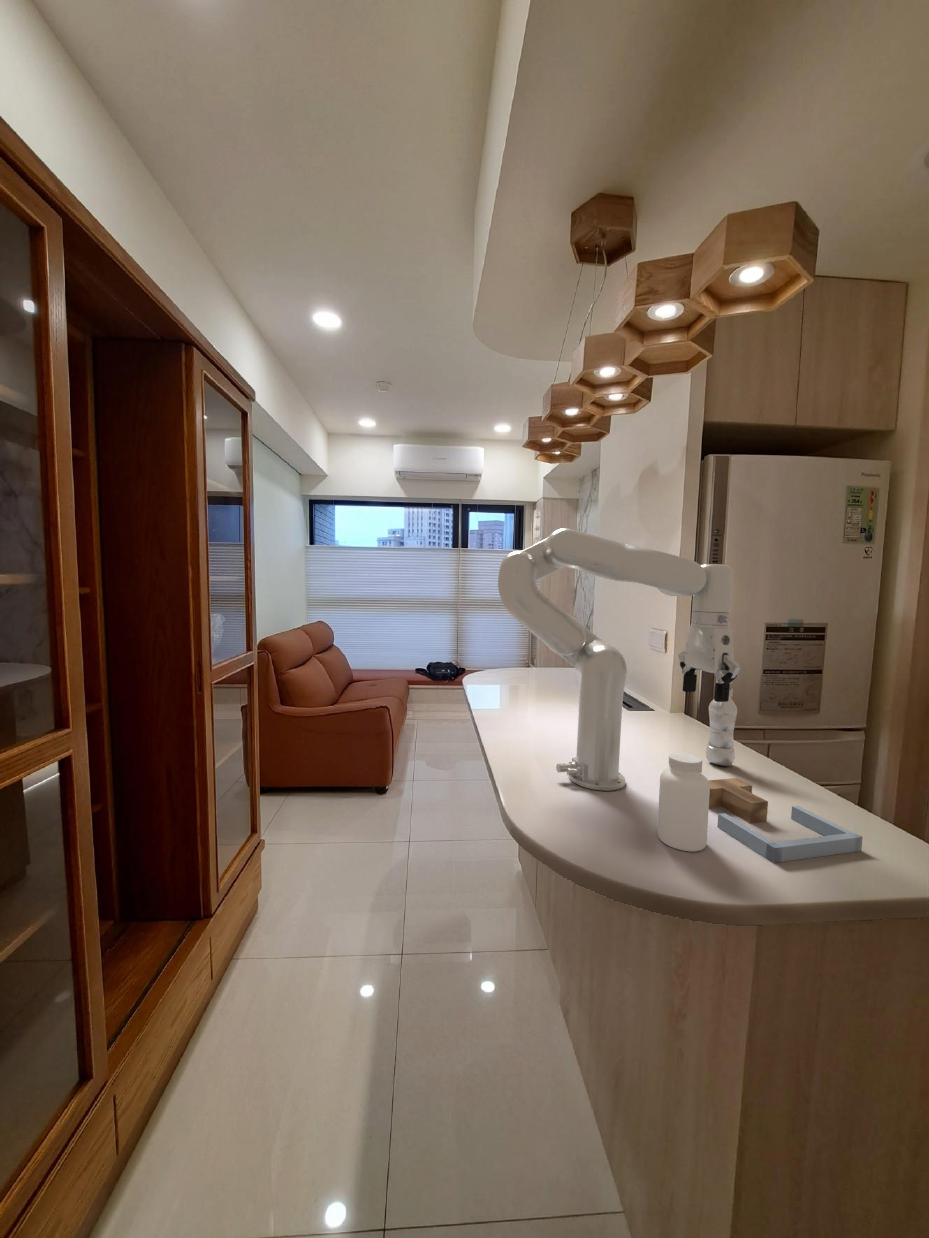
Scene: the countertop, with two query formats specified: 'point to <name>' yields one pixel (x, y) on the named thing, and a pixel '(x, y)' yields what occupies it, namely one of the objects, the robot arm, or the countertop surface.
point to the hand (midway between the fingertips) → (704, 696)
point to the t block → (738, 799)
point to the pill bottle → (683, 803)
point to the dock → (829, 844)
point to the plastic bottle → (721, 732)
